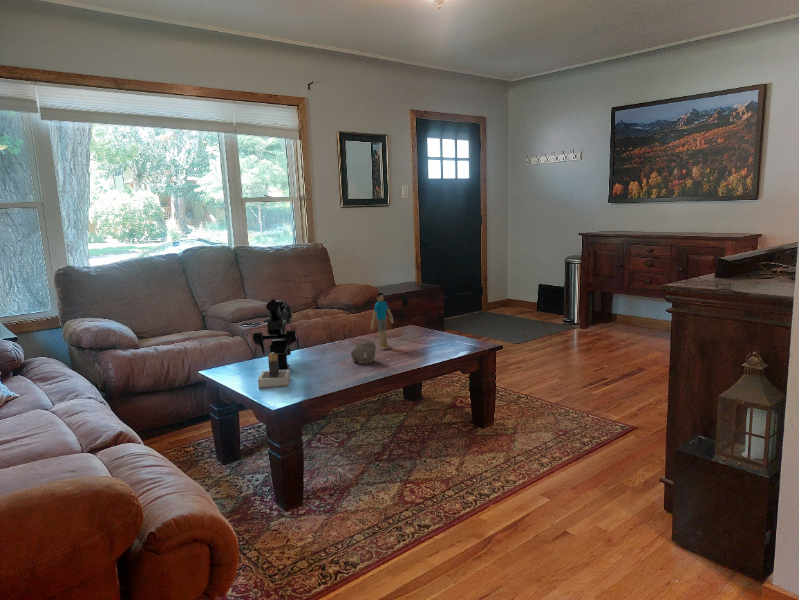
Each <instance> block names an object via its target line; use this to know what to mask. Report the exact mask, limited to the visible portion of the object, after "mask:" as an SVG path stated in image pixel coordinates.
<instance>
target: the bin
mask: <svg viewBox="0 0 799 600" xmlns="http://www.w3.org/2000/svg"><path fill="white" fill-rule="evenodd" d="M290 380H291V369H279V377H277V378H270V375H269V370H265V371H264V370H262V371H261V373H260V375H259V377H258V379H257V384H258V389H271V388H272V389H273V388H287V387H288V386H289V384H290Z"/></svg>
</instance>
